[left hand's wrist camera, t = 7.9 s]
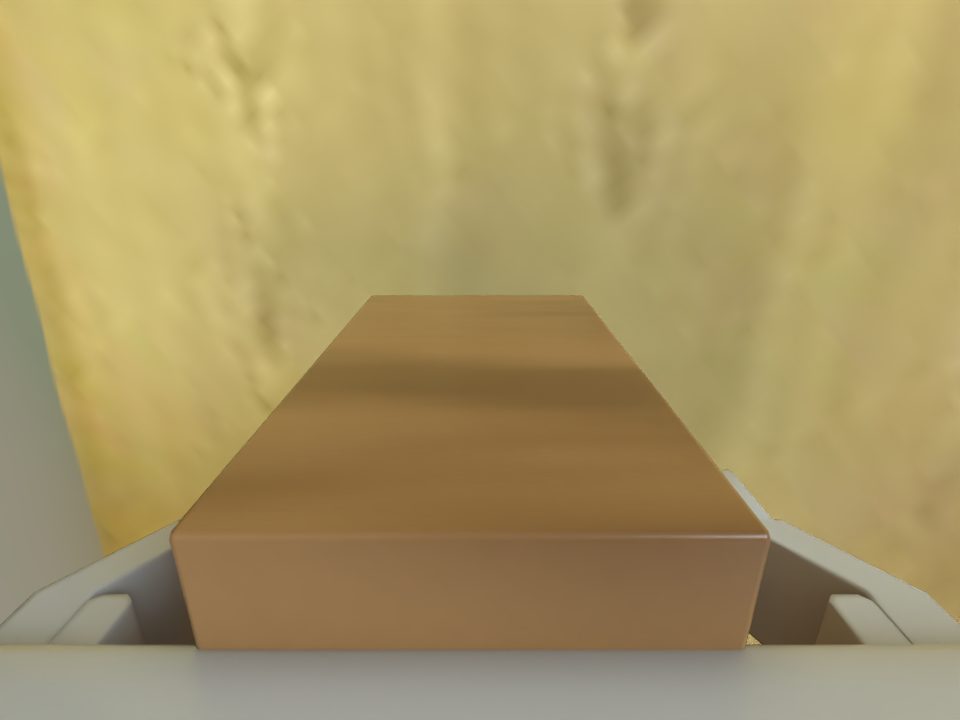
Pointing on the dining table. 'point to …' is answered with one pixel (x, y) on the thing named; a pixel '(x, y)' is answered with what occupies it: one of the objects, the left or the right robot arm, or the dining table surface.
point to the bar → (471, 498)
